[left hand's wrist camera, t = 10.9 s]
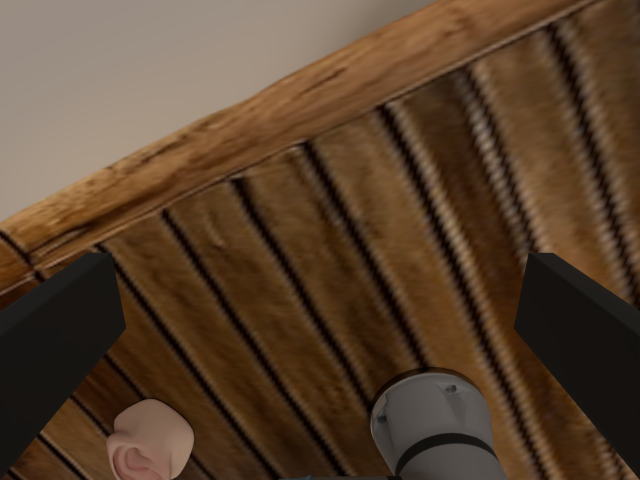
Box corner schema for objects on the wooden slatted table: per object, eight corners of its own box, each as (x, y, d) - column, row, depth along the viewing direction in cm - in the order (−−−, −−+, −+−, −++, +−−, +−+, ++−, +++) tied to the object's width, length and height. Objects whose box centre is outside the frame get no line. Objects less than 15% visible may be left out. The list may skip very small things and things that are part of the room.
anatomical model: (118, 411, 47) (205, 450, 49) (133, 387, 51) (213, 425, 53) (78, 479, 51) (160, 513, 53) (95, 453, 55) (171, 485, 57)
